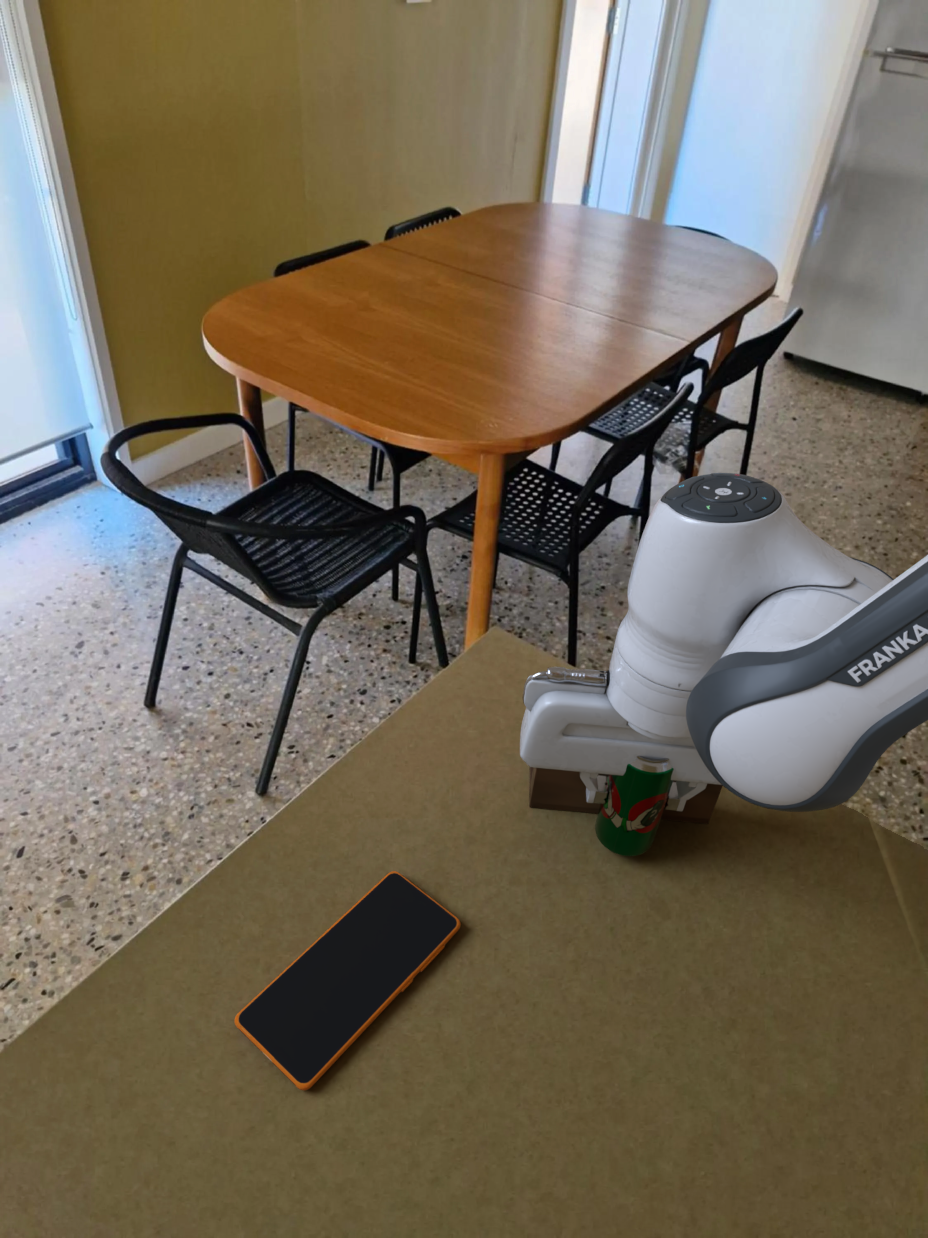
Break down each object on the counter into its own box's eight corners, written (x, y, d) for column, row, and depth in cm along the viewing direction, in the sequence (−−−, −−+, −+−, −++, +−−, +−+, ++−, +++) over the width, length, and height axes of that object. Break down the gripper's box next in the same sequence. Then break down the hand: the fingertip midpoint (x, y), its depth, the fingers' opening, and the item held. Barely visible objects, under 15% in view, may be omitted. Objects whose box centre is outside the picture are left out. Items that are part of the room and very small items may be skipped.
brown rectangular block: (700, 781, 83) (721, 721, 78) (708, 824, 79) (731, 764, 74) (529, 765, 83) (539, 704, 78) (529, 807, 79) (540, 746, 74)
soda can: (661, 829, 77) (692, 733, 70) (639, 870, 74) (670, 774, 66) (607, 803, 79) (632, 707, 71) (584, 842, 75) (608, 746, 68)
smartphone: (231, 1024, 62) (229, 1018, 62) (393, 873, 73) (393, 867, 72) (305, 1098, 59) (304, 1093, 58) (464, 928, 69) (465, 922, 69)
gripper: (527, 695, 62) (507, 820, 71) (817, 722, 62) (762, 843, 71) (527, 638, 67) (509, 760, 76) (797, 662, 67) (747, 782, 76)
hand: (633, 801), depth 73 cm, fingers closed on soda can, 5 cm apart
